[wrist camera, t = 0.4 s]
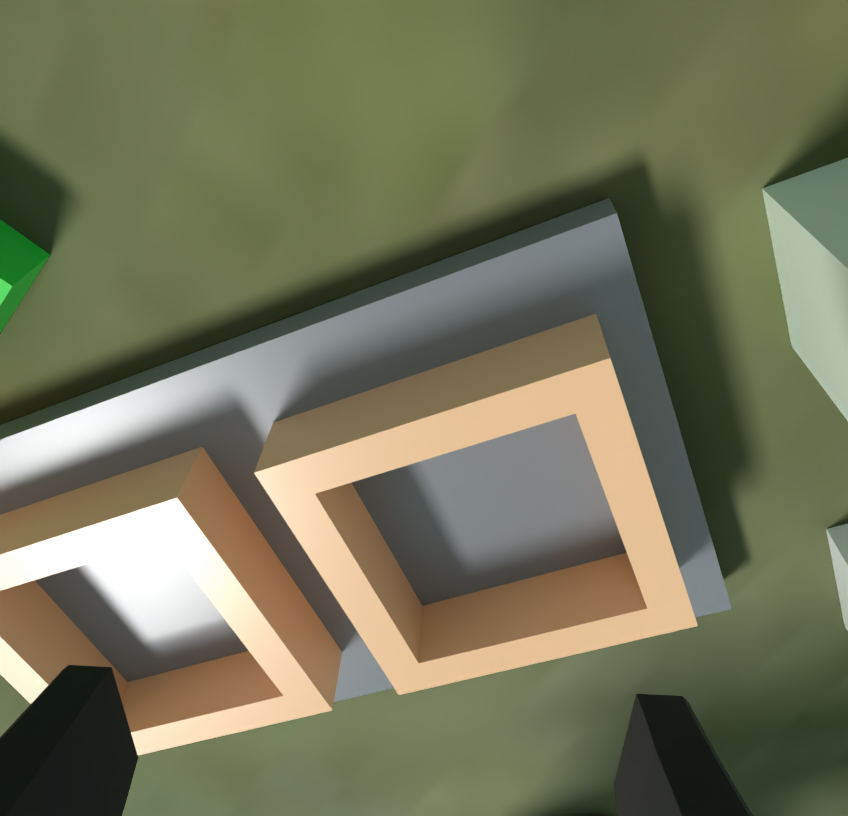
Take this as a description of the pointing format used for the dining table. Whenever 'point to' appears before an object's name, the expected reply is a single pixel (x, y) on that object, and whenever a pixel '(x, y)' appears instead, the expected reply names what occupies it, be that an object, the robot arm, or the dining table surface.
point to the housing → (363, 497)
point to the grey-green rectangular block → (840, 564)
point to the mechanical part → (16, 269)
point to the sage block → (815, 270)
